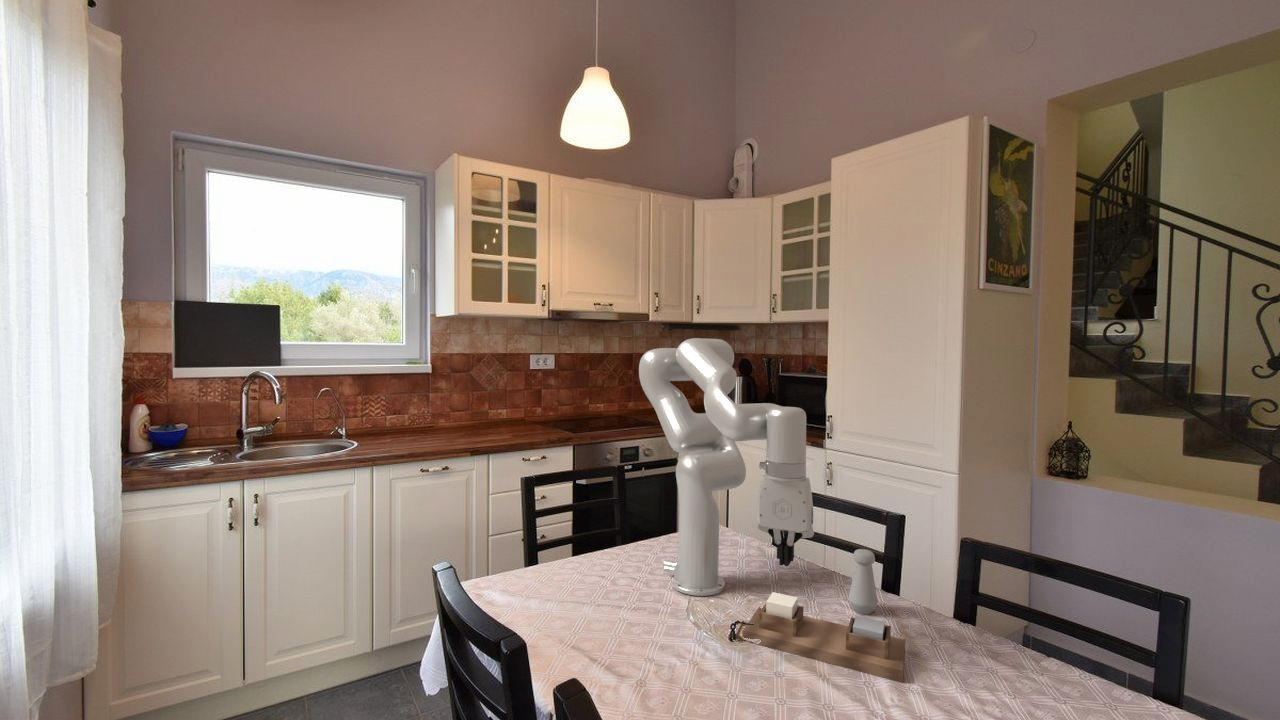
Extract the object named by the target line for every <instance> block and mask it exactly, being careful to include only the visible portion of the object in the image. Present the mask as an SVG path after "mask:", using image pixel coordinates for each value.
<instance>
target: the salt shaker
mask: <svg viewBox="0 0 1280 720" xmlns="http://www.w3.org/2000/svg"><path fill="white" fill-rule="evenodd" d="M853 560H854V562H856V563H855V568H854V574H853V576H852V581H851V585H850V590H849V595H848V600H849V603H850V605H851V608H852V611H854V612H855V613H858V614H860V615H868V616H869V615H870V614H872V612H873V613H874V611H875V610H876V607H877V605H878V601H879V600H878V594H877V589H876V588H877V587H876V584H875V583H876V582H875V578H874V577H875V575H874V571H873V564H874V563H875V561H876V557H875V554H874V553H873V551H871V550H869V549H865V548H859V549H856V550H854V552H853Z"/></svg>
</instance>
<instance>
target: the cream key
mask: <svg viewBox="0 0 1280 720" xmlns="http://www.w3.org/2000/svg"><path fill="white" fill-rule="evenodd" d="M798 598H799V597H797V596H792V595H789V594H788V595H787V594H783V593H779V592H778V593H777V592H774V591H773V592H771V594H770V595H769V597H768V599H767V600H766V601H765V602H766V603H765V604H766V613H768V614H773V615H777V616H781V617H785V618H790V619H792V618H793V617H794V615H795V613H796V611H797V605H799V604H798V602H799V599H798Z"/></svg>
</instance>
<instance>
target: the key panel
mask: <svg viewBox="0 0 1280 720" xmlns="http://www.w3.org/2000/svg"><path fill="white" fill-rule="evenodd" d="M804 607H805V606H802V605H799V604H798V605H797V611H796V613H795V615H794V617H793V618H792V619H790V618H785V617H781V616H777V615H773V614H768V613H766V603H765V604H764V605H763V608H762V609H761V608H760V607H759V606H758V608H757V609H756V611H755V612H754V613H753V614H752V617H751V618H750V619H749V620H748V622H747V624H748V623H754V625H747V624H746V625H745V627H743V629H742V638H743V637H744V638H748V639H749V638H750V639H760V640H761V642H760V643H759V645H758V646H762V647H766V648H770V649H773V650H777V651H782V652H785V653H789V654H793V655H796V656H800V657H804V658H807V659H811V660H816V661H820V662H823V663H827V664H831V665H833V666H838V667H843V668H846V669H850V670H853V671H856V672H857V671H858V672H862V673H864V674H870V675H872V676H877V677H879V678H880V677H881V678H884V679H888V680H892V681H895V682H899V683H903V677H904V670H905V669H904V668H905V660H906V659H905V656H906V648H907V647H906V645H907V644H906V642H907V639H905V638H901V637H897V636H893V635H891V632H892V631H891V629H892V626H891V625H887V624H885V631H884V640H879V639H875V638H870V637H866V636H862V635H858V634H853V625H854V621H855V618H856V617H850V620H849V622H848V625H845V624H840V623H836V622H832V621H829V620H828V621H827V620H823V619H819V618H815V617H810V616H806V615H804V609H805V608H804Z"/></svg>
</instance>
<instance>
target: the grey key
mask: <svg viewBox="0 0 1280 720" xmlns="http://www.w3.org/2000/svg"><path fill="white" fill-rule="evenodd" d="M854 618H855V621H854V625H853V634H858V635H862V636H866V637H870V638H875V639H879V640H884V631H885V625H886V624H885V621H882V620H879V619H878V620H877V619H873V618H869V617H864V616H859V615H856V616H855V617H854Z"/></svg>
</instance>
